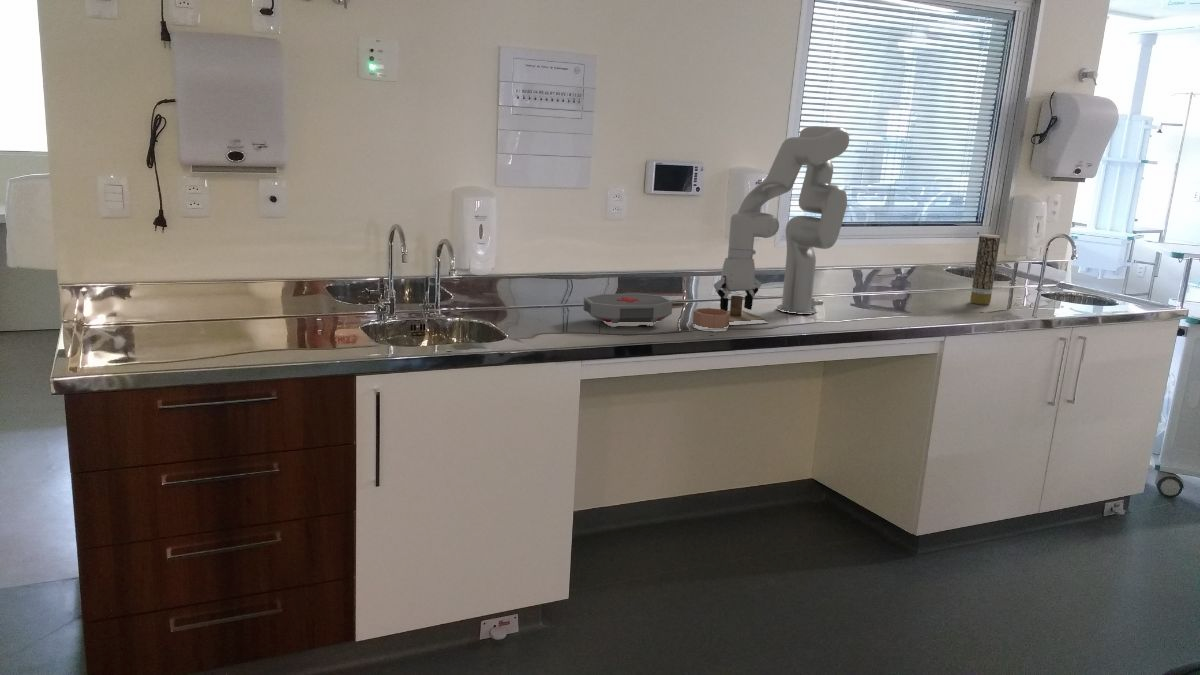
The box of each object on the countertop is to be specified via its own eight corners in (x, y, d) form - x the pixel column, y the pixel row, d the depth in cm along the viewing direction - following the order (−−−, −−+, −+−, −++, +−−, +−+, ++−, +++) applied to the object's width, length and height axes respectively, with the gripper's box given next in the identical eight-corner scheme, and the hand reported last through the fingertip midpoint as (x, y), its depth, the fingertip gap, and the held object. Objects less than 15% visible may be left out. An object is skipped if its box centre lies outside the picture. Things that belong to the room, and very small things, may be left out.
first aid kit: (594, 331, 246) (676, 329, 253) (595, 306, 245) (677, 304, 252) (579, 318, 263) (655, 316, 270) (580, 294, 261) (657, 293, 268)
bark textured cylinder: (993, 305, 311) (1003, 236, 305) (974, 304, 311) (984, 236, 305) (985, 302, 318) (995, 234, 312) (967, 301, 318) (976, 233, 312)
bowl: (715, 323, 263) (716, 307, 262) (733, 330, 254) (735, 314, 253) (687, 325, 259) (688, 309, 258) (704, 332, 250) (706, 316, 249)
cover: (741, 312, 278) (742, 291, 276) (764, 321, 266) (766, 299, 265) (706, 314, 272) (708, 293, 271) (729, 323, 261) (730, 301, 259)
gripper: (756, 251, 271) (752, 305, 276) (709, 253, 264) (705, 308, 268) (770, 255, 265) (765, 310, 269) (722, 256, 258) (718, 313, 262)
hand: (735, 309), depth 269 cm, fingers open, 8 cm apart
